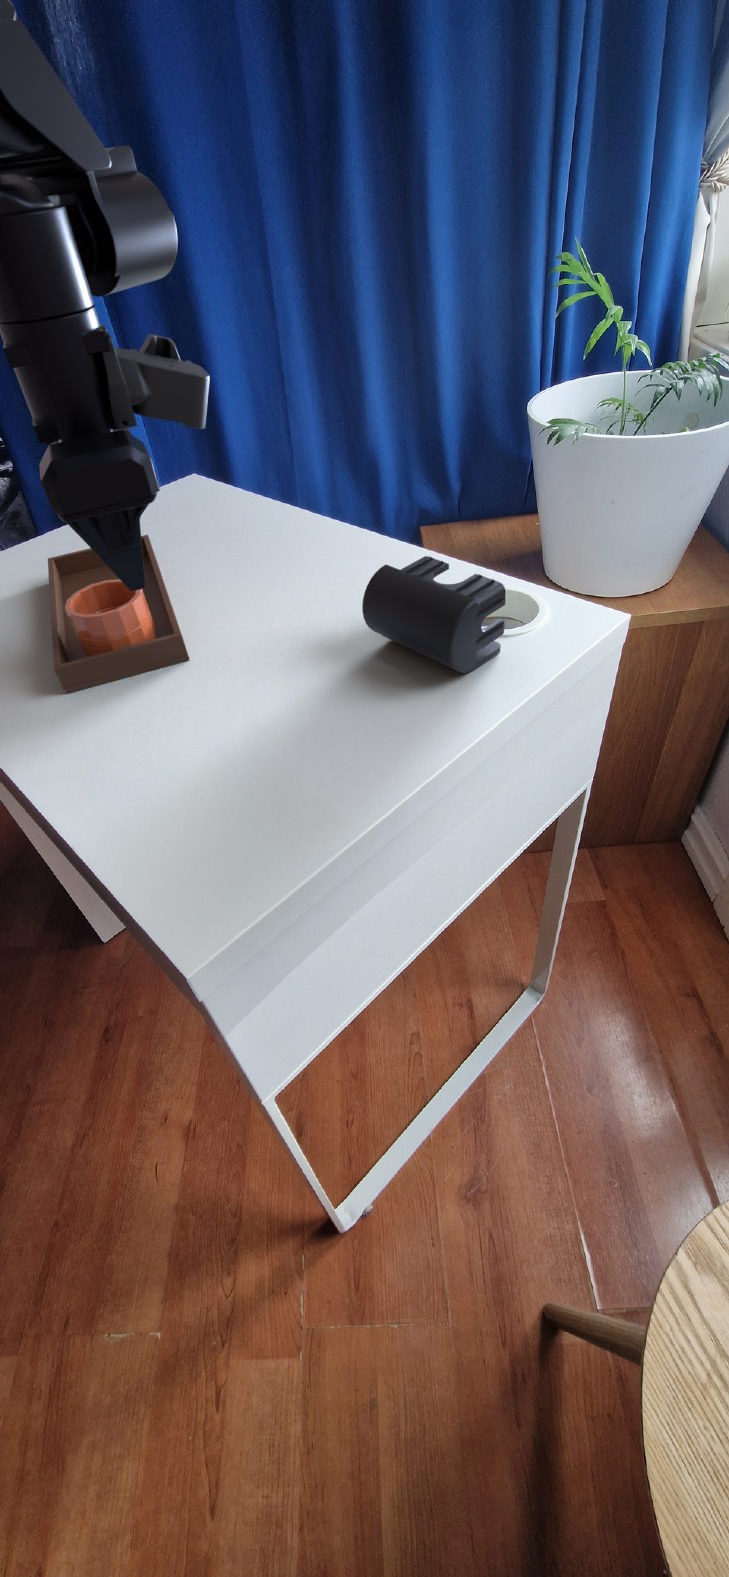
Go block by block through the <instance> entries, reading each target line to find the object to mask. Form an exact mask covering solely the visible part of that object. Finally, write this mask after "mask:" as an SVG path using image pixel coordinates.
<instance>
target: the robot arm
mask: <svg viewBox="0 0 729 1577" xmlns="http://www.w3.org/2000/svg"><path fill="white" fill-rule="evenodd" d="M177 230H178V229H177V224H176V221H175V216H174V214H173V211H171V210H170V208H169V206H168V204H167V201H166V200H165V198H164V196H163V195H162V193H161V192H160V190H159V188H158V186H156V185H155V183H154V182H152V180H151V179H150V178H149V177H147V176H146V175H144V174H143V173H142V172H140V171H138V169H137V164H136V161H135V157H134V153H133V149H132V148H131V146H130V145H119V146H113V147H105V146H104V144H103V142H102V141H101V139H100V137H99V136H98V135H97V133H96V132H95V130H94V128H93V127H92V125H90V122H89V121H88V120H87V118H86V116H85V115H84V114H83V111H82V110H81V109H80V107H79V105H78V104H77V103H76V102H75V100H74V99H73V97H72V94H70V92H69V91H68V89H67V88H66V86H65V85H64V83H63V82H62V80H61V79H60V77H59V76H58V74H57V72H56V71H55V70H54V68H53V66H52V65H51V63H50V62H49V61H48V59H47V57H46V56H45V54H44V52H43V51H42V50H41V48H40V47H39V45H38V43H37V42H36V40H35V39H34V38H33V37H32V35H31V34H30V32H29V30H28V28H27V27H26V25H25V24H24V23H23V22H22V20H21V19H20V18H19V16H18V15H17V10H16V7H15V6H14V4H13V3H12V1H11V0H0V336H1V339H2V341H3V344H2V349H3V351H4V354H5V357H6V360H7V362H8V366H9V367H10V369H13V370H14V373H15V376H16V378H17V381H18V383H19V386H20V389H21V391H22V394H23V396H24V399H25V402H26V405H27V407H28V410H29V412H30V416H31V418H32V419H31V420H32V427H33V431H34V433H35V435H36V438H37V440H38V443H39V445H42V444H45V445H47V448H46V449H45V452H44V454H43V456H42V457H41V460H40V462H39V464H38V465H39V476H40V483H41V486H42V488H43V491H44V494H45V495H46V499H47V501H48V503H49V506H50V509H51V512H52V514H53V515H57V516H58V518H59V519H60V521H62V522H63V523H66V525H68V527H70V528H71V530H72V531H74V533H75V534H76V535H78V536H79V537H80V539H81V540H82V541H83V542H84V543H85V544H86V545H87V546H88V547H89V548H91V549H92V550H93V551H94V552H95V553H96V554H97V555H98V556H99V557H100V558H101V559H102V560H103V562H104V563H105V564H106V565H107V566H108V567H109V568H110V569H111V570H112V571H113V573H114V574H115V575H116V576H117V577H118V578H119V579H120V580H121V581H122V582H123V583H124V585H125V586H126V587H127V588H128V589H129V590H130V591H136V590H140V589H143V588H145V586H146V582H145V572H144V561H143V551H142V541H141V536H142V531H141V530H142V529H141V518H142V515H143V513H144V512H145V511H146V509H147V508H148V506H149V505H150V504H153V502H155V500H156V498H157V496H158V492H160V491H161V488H160V485H159V481H158V478H157V474H156V471H155V467H154V464H153V460H152V457H151V455H150V453H149V452H148V449H147V447H146V445H145V443H144V442H143V441H142V440H140V439H139V438H137V437H136V436H134V435H132V432H131V430H130V429H129V428H134V427H138V422H137V418H136V415H138V416H141V417H145V418H151V419H156V420H157V419H158V420H163V421H168V422H173V423H179V424H182V425H184V427H186V428H190V429H194V430H195V429H196V430H204V429H206V422H207V413H208V403H209V391H210V381H211V375H210V374H209V373H208V372H207V371H206V370H205V369H204V368H203V367H202V366H200V365H198V364H196V363H193V362H192V361H191V360H187V359H186V360H181V358H180V355H179V352H178V349H177V346H176V344H175V342H174V341H173V340H172V339H171V338H169V337H166V336H163V335H162V336H161V335H157V334H152V333H149V334H148V335H147V336H146V338H145V340H144V342H143V344H142V346H141V347H140V349H139V350H137V349H136V348H132V347H131V348H129V349H125V348H122V347H121V348H120V347H115V345H114V342H113V338H112V336H111V334H110V332H108V331H107V327H106V326H105V325H104V324H101V322H100V318H99V315H98V312H97V308H96V305H95V302H94V298H93V297H105V296H108V295H111V294H114V293H118V292H121V291H122V292H123V291H124V290H128V289H131V288H135V287H138V286H141V285H144V284H149V283H151V282H155V281H158V280H161V279H162V278H165V277H166V276H167V275H168V274H169V273H170V272H171V271H172V270H173V267H174V264H175V263H176V259H177V255H178V243H179V239H178V231H177Z"/></svg>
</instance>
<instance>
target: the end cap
mask: <svg viewBox="0 0 729 1577" xmlns="http://www.w3.org/2000/svg"><path fill="white" fill-rule="evenodd" d="M449 569H450V564H449V563H447V562H445V561H443V560H439V559H436V558H434V557H432V556H428V555H425V556H423V557H420V558H418V559H417V560H415V561H414V562H412V563H409V564H408V565H406V566H404V567H403V568H401V569H400V568H397V567H394V566H391V565H388V564H384V565H382V566H381V567H380V568H378V569H377V570H376V571H375V573H374V574H373V575H372V577H371V578H370V580H369V581H368V583H367V585H366V588H365V590H364V594H363V597H362V604H361V605H362V606H361V607H362V609H361V610H362V616H363V620H364V622H365V624H366V626H367V627H368V629H370V630H372V631H373V632H375V633H376V634H379V635H381V636H382V637H384V638H387V639H389V640H391V641H393V642H395V643H396V644H399V645H401V646H404V647H405V648H407V649H409V650H412V651H414V652H417V653H418V654H420V655H422V656H424V657H427V658H429V659H431V660H433V661H435V662H437V663H439V664H442V665H444V666H445V667H448V668H449V669H452V670H454V671H456V672H459V673H462V674H465V675H466V674H470V673H472V672H474V671H475V670H477V669H478V668H481V666H483V665H484V664H486V663H488V661H490V660H492V659H493V658H495V657H496V656H498V655H499V654H500V653H501V643H500V642H498V641H496V640H497V639H499V638H500V637H501V636H503V635H504V633H505V618H503V617H499V618H498V619H496V620H494V621H493V622H491V623H490V624H488V625H485V624H483V622H484V621H485V619H486V618H487V617H489V616H490V615H491V614H493V613H495V612H496V611H498V610H500V609H501V608H503V607H504V606H506V602H507V600H506V592H507V591H506V587H505V585H504V584H503V583H502V582H500V581H498V580H495V579H493V578H489V577H487V576H484V575H482V574H480V573H479V574H478V573H474V574H473V575H471V576H469V577H468V578H466V579H464V580H462V581H459V582H456V583H442V582H441V583H440V582H438V581H436V580H435V578H436V577H438V576H440V575H441V574H443V573H445V572H446V571H448V570H449Z"/></svg>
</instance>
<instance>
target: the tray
mask: <svg viewBox="0 0 729 1577" xmlns="http://www.w3.org/2000/svg"><path fill="white" fill-rule="evenodd" d="M141 541H142V551H143V561H144V572H145V582H146V586H145V588H143V589H142V590H143V593H144V596H145V599H146V602H147V605H148V608H149V611H150V613H151V616H152V619H153V622H154V625H155V628H156V639H153V640H149V641H146V642H142V643H138V644H134V645H131V646H127V647H123V648H119V649H116V650H112V651H108V652H104V653H101V654H97V655H93V656H89V657H87V656H86V654H85V653H84V652H83V650H82V647H81V645H80V643H79V640H78V638H77V636H76V634H75V631H74V629H73V627H72V624H71V622H70V620H69V618H68V615H67V613H66V611H65V605H66V601H67V600H68V599H69V598H70V597H71V596H72V595H73V594H74V593H75V592H77V591H79V590H81V589H83V588H85V587H87V586H89V585H91V584H95V583H99V582H102V581H106V580H117V579H119V578H118V577H117V576H116V575H115V574H114V573H113V571H112V570H111V569H110V568H109V567H108V566H107V565H106V564H105V563H104V562H103V560H102V559H101V558H100V557H99V556H98V555H97V554H96V553H95V552H94V551H93V550H92V549H91V548H90V547H89V548H85V549H81V550H77V551H72V552H69V553H64V554H60V555H56V556H53V557H47V568H48V569H47V570H48V571H47V572H48V588H49V603H50V604H49V605H50V618H51V619H50V620H51V623H50V624H51V636H52V640H51V641H52V653H53V654H52V656H53V670H54V672H55V674H56V676H57V678H58V681H59V683H60V685H61V687H62V689H63V691H64V693H65V694H71V693H75V692H78V691H82V690H86V689H89V688H92V687H96V686H100V685H104V684H107V683H111V682H115V681H118V680H121V679H126V678H128V677H134V676H136V675H140V674H143V673H147V672H150V671H154V670H158V669H162V668H165V667H170V666H172V665H176V664H180V663H183V662H188V661H190V655H189V653H188V650H187V646H186V644H185V641H184V637H183V634H182V630H181V628H180V625H179V622H178V619H177V617H176V613H175V610H174V608H173V605H172V602H171V598H170V596H169V593H168V592H169V591H168V589H167V587H166V584H165V581H164V578H163V575H162V572H161V568H160V566H159V563H158V560H157V557H156V554H155V552H154V551H155V550H154V548H153V545H152V543H151V539H150V537H149V534H144V535H141Z"/></svg>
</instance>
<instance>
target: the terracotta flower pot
mask: <svg viewBox="0 0 729 1577" xmlns="http://www.w3.org/2000/svg"><path fill="white" fill-rule="evenodd" d="M65 611H66V613H67V615H68V618H69V620H70V622H71V624H72V627H73V629H74V631H75V634H76V636H77V638H78V640H79V643H80V645H81V647H82V650H83V652H84V653H85V654H86V656H87V657H89V656H93V655H97V654H101V653H104V652H108V651H112V650H116V649H119V648H123V647H127V646H131V645H134V644H138V643H142V642H146V641H149V640H153V639H156V628H155V625H154V622H153V619H152V616H151V613H150V611H149V608H148V605H147V602H146V599H145V596H144V593H143V590H142V589H140V590H136V591H130V590H129V589H128V588H127V587H126V586H125V585H124V583H123V582H122V581H121V580H120V579H117V580H106V581H102V582H99V583H95V584H91V585H89V586H87V587H85V588H83V589H81V590H79V591H77V592H75V593H74V594H73V595H72V596H71V597H70V598H69V599H68V600H67V601H66V605H65Z"/></svg>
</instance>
